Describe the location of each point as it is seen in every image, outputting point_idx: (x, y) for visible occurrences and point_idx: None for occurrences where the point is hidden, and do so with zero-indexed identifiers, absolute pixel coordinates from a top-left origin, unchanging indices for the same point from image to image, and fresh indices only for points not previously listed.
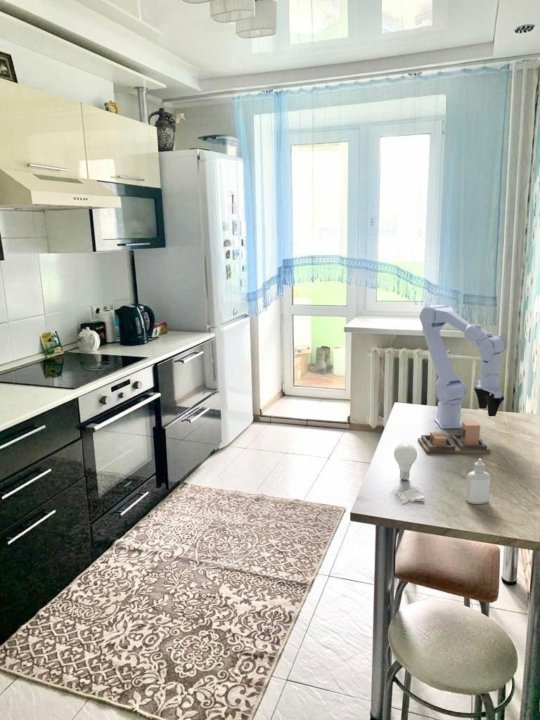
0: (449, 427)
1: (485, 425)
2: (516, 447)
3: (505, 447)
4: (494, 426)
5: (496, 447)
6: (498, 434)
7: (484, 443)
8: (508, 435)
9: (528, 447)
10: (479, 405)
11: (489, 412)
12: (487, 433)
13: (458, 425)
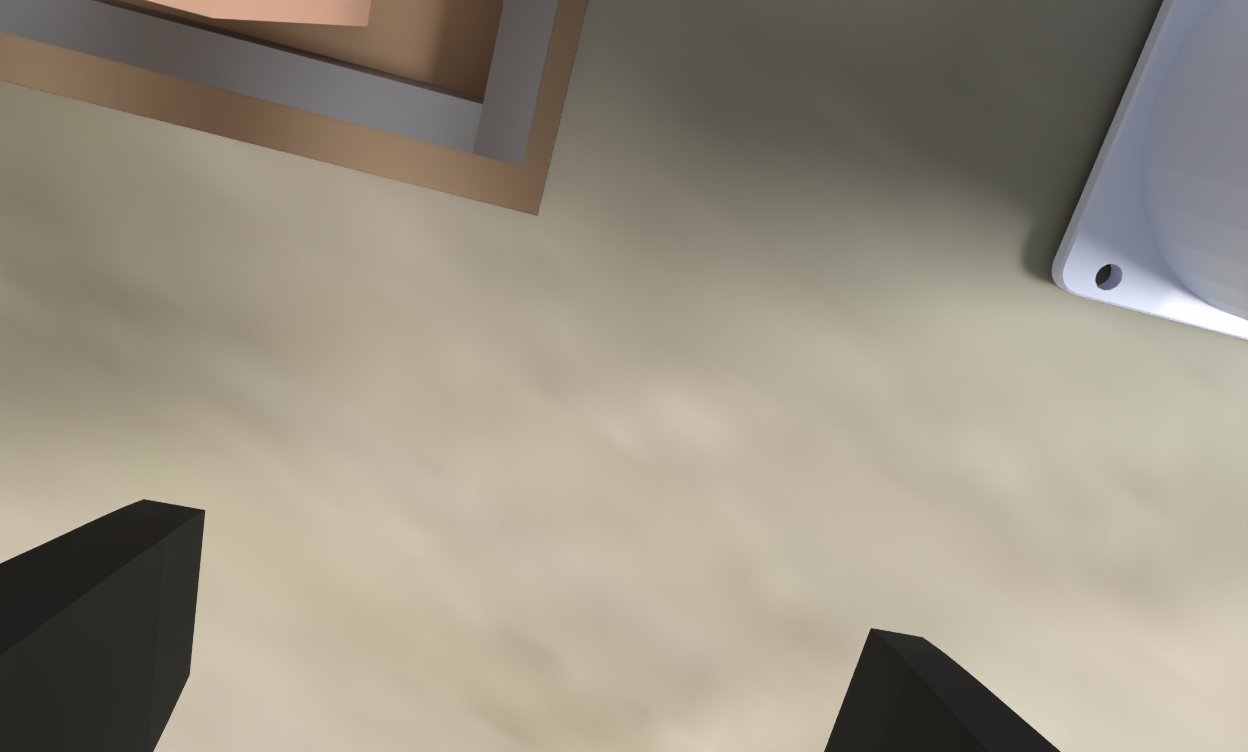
0: (1172, 8)
1: (1001, 654)
2: None
3: (136, 435)
4: None
5: (157, 306)
6: (632, 626)
7: (2, 29)
8: (556, 722)
9: None
10: (918, 676)
11: (43, 558)
12: (721, 508)
13: (1153, 223)
